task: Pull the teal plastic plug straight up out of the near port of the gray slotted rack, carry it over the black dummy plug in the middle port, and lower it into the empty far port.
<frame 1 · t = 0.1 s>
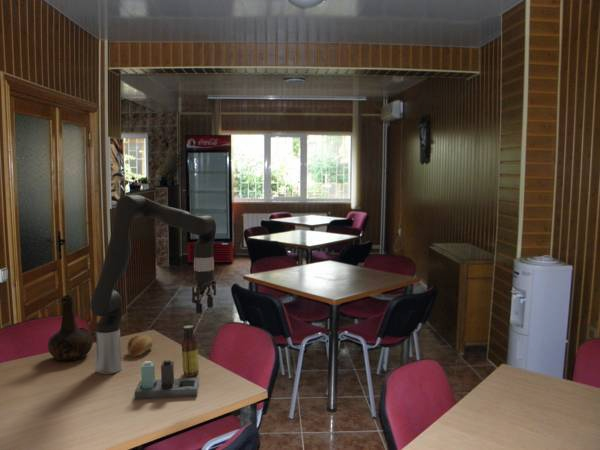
hand: (204, 310, 193), 29 cm above the table, fingers open, 8 cm apart
plug: (148, 393, 187), resting in gray slotted rack
glass bottle: (71, 358, 224), on the table
gray slotted rack: (168, 392, 188), on the table
sauce bottle: (190, 374, 205), on the table
bread roll: (139, 353, 230), on the table
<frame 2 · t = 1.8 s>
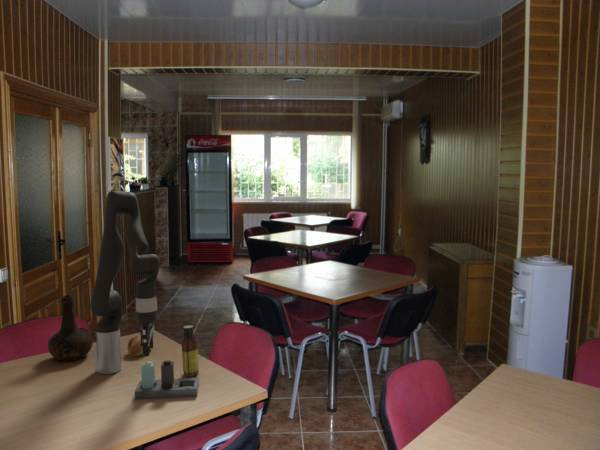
hand: (148, 352, 186), 16 cm above the table, fingers open, 8 cm apart
nothing on the table moved.
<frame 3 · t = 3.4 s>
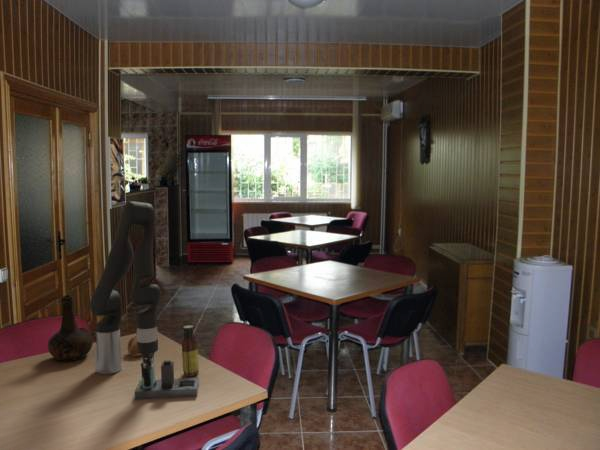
hand: (148, 383, 187), 4 cm above the table, fingers closed on plug, 4 cm apart
plug: (148, 393, 187), resting in gray slotted rack, touching gripper
everything else where it was.
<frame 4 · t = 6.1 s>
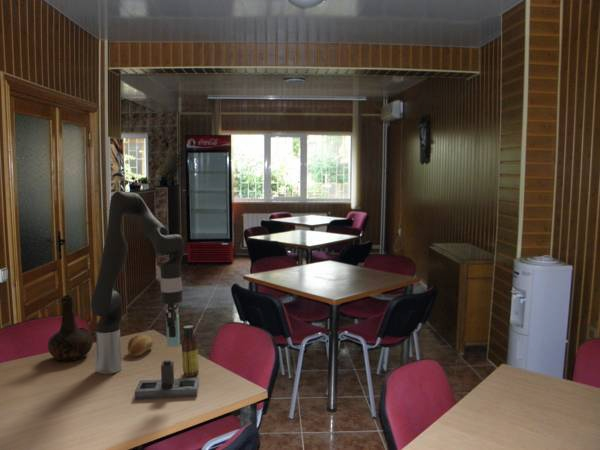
hand: (173, 334, 186), 22 cm above the table, fingers closed on plug, 4 cm apart
plug: (173, 344, 186), point 18 cm above the table, touching gripper
everything else where it was.
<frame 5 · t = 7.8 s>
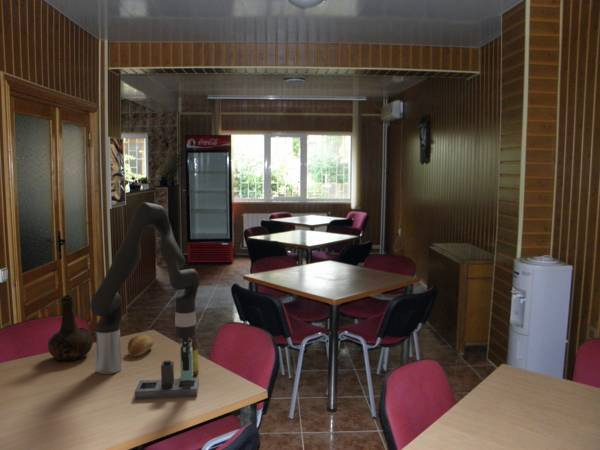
hand: (186, 367, 188), 9 cm above the table, fingers closed on plug, 4 cm apart
plug: (187, 377, 188), point 5 cm above the table, touching gripper
everything else where it was.
when the fingers open (5 cm above the table, at t = 8.9 s): plug drops 1 cm, resting in gray slotted rack.
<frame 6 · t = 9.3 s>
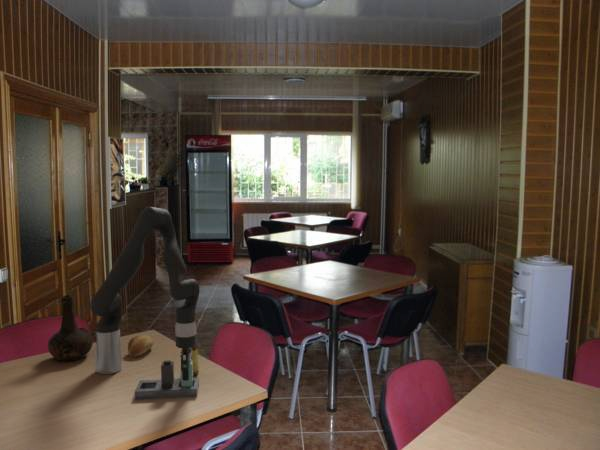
hand: (186, 375, 188), 6 cm above the table, fingers open, 7 cm apart
plug: (187, 391, 189), resting in gray slotted rack
everything else where it was.
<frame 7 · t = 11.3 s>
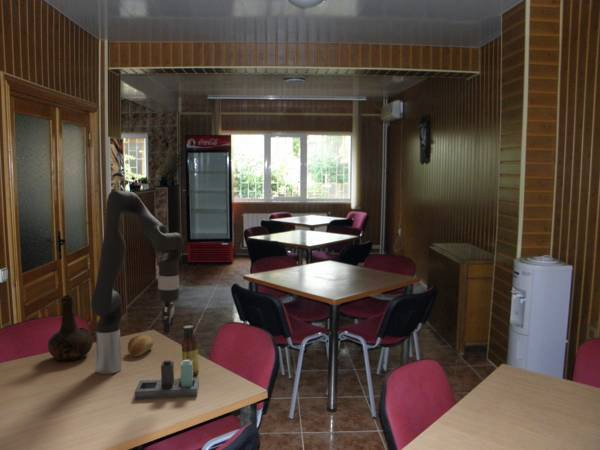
hand: (168, 329, 188), 23 cm above the table, fingers open, 8 cm apart
nothing on the table moved.
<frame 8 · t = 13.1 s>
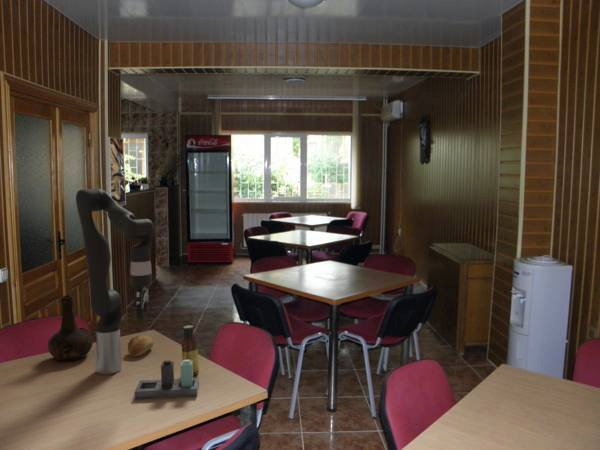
hand: (142, 315, 190), 28 cm above the table, fingers open, 8 cm apart
nothing on the table moved.
at the end: plug 0.1 cm from the target spot on the gray slotted rack, point 0.0 cm above the gray slotted rack's base; plug tilted 0°; the gripper is holding nothing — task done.
